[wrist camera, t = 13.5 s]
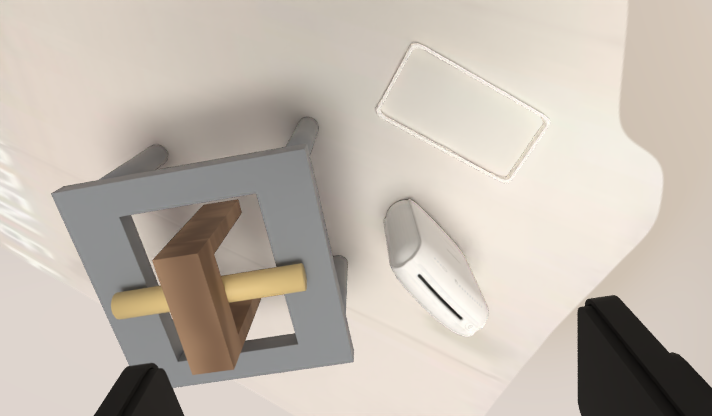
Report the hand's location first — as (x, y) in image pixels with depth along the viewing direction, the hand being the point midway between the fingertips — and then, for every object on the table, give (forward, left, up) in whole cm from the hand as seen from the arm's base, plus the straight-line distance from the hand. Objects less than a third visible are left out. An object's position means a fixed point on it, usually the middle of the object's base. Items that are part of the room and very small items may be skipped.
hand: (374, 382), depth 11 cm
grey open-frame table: (+9, -13, -36) cm, 40 cm away
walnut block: (+9, -13, -28) cm, 32 cm away
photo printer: (+15, +4, -36) cm, 40 cm away
